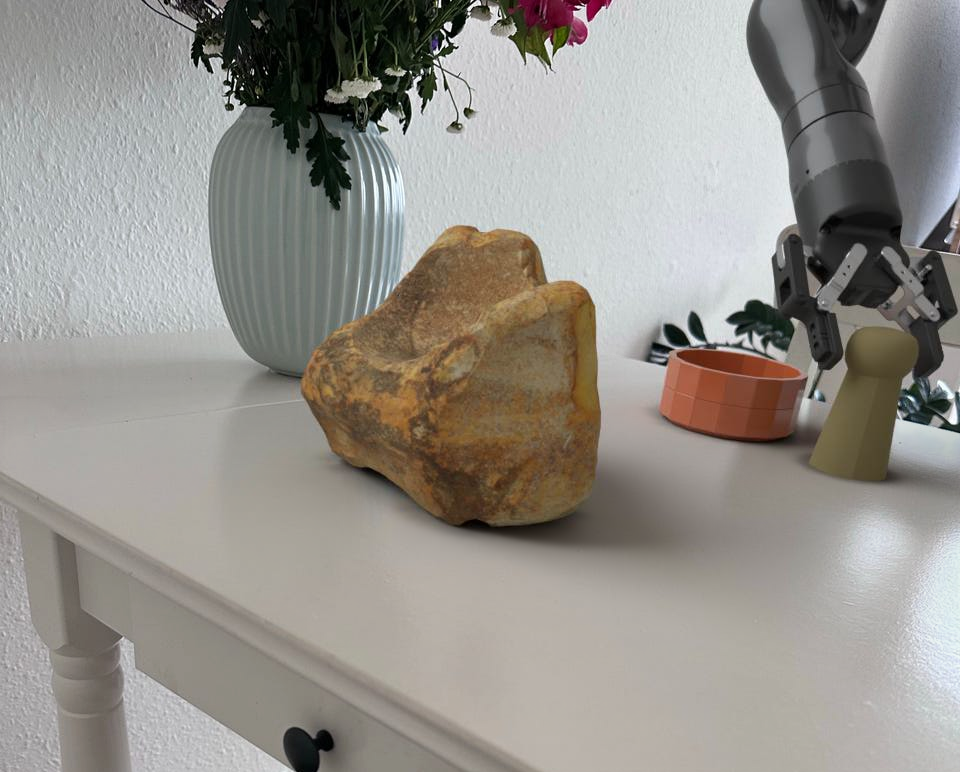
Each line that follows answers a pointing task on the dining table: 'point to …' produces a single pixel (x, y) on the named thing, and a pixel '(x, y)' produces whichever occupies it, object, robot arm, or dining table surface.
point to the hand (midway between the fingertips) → (881, 368)
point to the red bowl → (732, 394)
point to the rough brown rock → (469, 384)
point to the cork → (866, 405)
